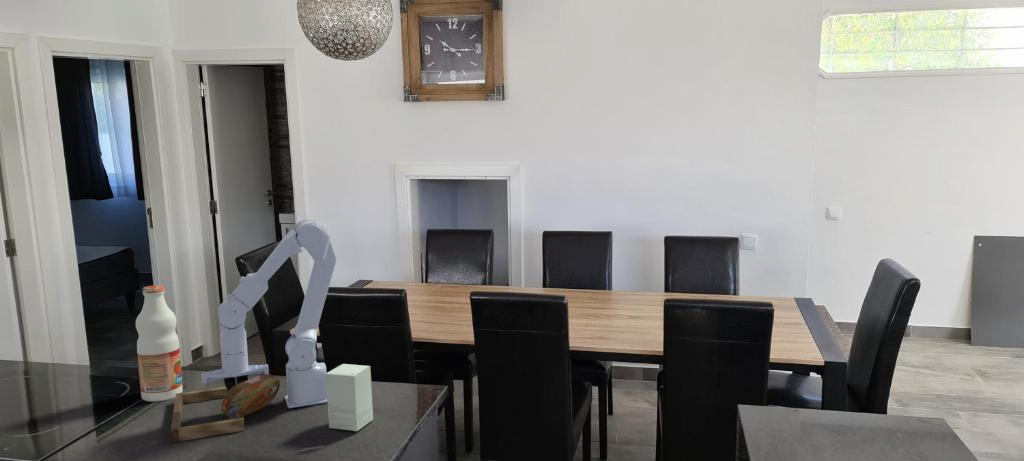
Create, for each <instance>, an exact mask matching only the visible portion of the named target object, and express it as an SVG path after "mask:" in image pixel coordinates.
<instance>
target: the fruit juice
mask: <svg viewBox="0 0 1024 461" xmlns="http://www.w3.org/2000/svg"><path fill="white" fill-rule="evenodd" d="M141 292H142V295H143V296H144V298H143V299H144V301H143V305H142V307H141V308H142V309H141V311H140V313H139V314H138V315H137V317H136V319H135V329H136V331H137V334H138V338H137V341H136V350H137V351H136V353H137V363H138V364H137V365H138V376H139V384H140V385H139V386H140V396H141V399H142V400H143V401H145V402H162V401H167V400H171V399H175V396H176V394H177V393H183V388H184V387H183V376H182V364H181V351H180V341H179V336H178V334H177V333H176V329H177V325H178V324H177V323H178V322H177V316H176V314H175V312H174V311H173V310H172V309H171V308H169V306H168V304H167V302H166V299H165V296H164V295H165V292H166V288H165V286H164V285H160V284H159V285H158V284H156V285H155V284H154V285H148V286H144V287H143V288H142V291H141Z"/></svg>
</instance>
